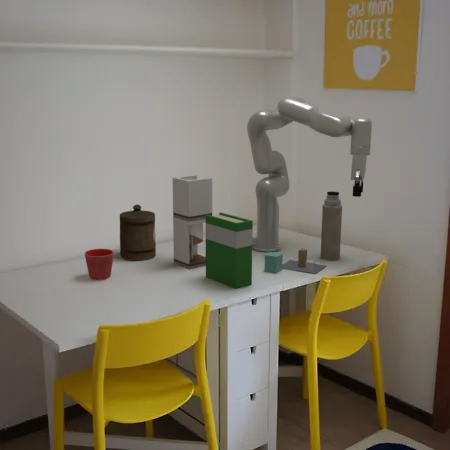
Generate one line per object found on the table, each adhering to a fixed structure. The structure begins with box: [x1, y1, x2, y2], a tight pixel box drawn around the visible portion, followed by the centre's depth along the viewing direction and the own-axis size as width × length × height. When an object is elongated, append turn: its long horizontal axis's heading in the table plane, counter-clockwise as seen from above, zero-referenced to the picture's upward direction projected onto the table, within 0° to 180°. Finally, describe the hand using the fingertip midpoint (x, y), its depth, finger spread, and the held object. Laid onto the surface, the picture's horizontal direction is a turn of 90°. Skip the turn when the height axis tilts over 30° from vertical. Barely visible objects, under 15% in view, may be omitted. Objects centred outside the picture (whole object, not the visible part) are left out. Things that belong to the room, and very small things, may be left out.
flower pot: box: [84, 248, 115, 281], centre depth 235 cm, size 11×11×10 cm
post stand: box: [282, 248, 327, 275], centre depth 249 cm, size 16×12×7 cm
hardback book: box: [205, 212, 254, 290], centre depth 230 cm, size 18×7×24 cm, turn 40°
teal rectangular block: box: [263, 252, 284, 274], centre depth 244 cm, size 5×5×7 cm
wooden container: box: [119, 204, 157, 262], centre depth 262 cm, size 15×15×22 cm
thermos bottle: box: [320, 191, 343, 262], centre depth 260 cm, size 8×8×28 cm
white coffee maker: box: [172, 174, 213, 270], centre depth 250 cm, size 11×11×35 cm
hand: (357, 194), depth 247 cm, fingers open, 9 cm apart
